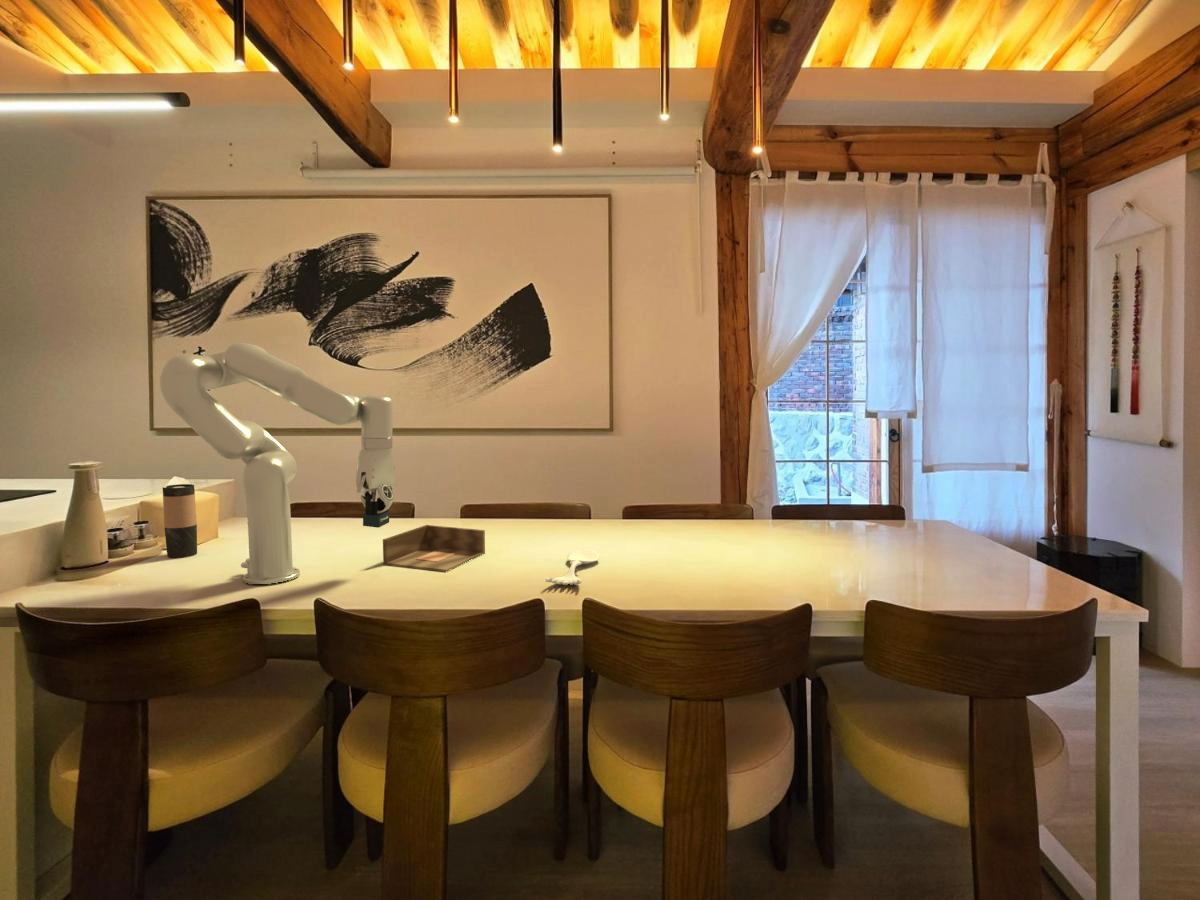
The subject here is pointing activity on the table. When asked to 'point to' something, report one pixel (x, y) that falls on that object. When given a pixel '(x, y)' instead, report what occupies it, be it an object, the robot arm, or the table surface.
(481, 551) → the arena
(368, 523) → the watch
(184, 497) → the travel mug
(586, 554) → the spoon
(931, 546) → the table surface
